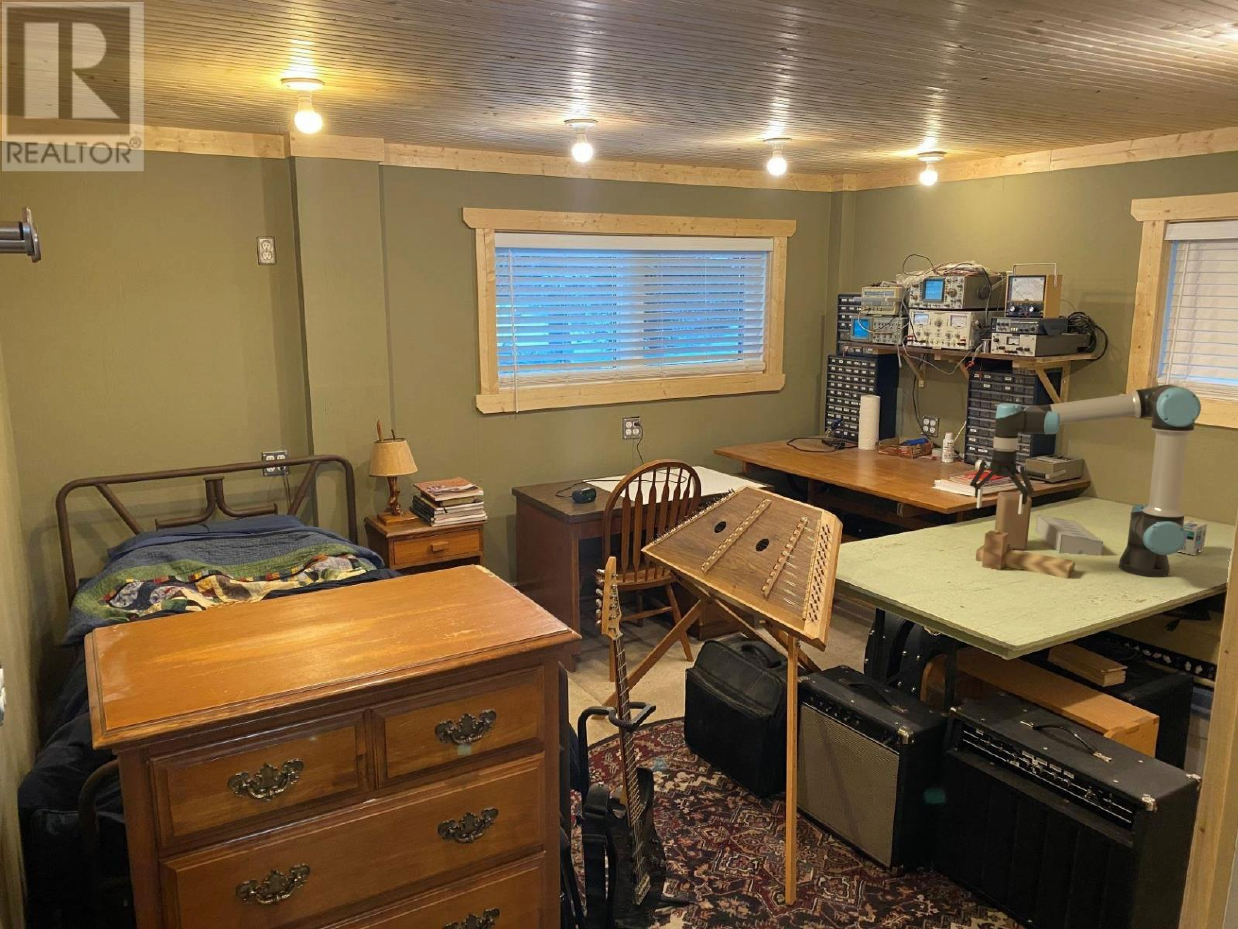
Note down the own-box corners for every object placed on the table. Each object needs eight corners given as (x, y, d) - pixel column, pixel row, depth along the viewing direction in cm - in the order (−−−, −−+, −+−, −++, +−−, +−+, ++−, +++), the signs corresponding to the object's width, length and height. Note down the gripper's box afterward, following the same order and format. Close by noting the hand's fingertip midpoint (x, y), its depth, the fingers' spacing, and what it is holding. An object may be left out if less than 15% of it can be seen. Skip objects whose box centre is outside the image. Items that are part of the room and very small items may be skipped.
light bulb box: (1193, 556, 320) (1197, 528, 318) (1173, 552, 325) (1177, 524, 323) (1203, 551, 327) (1208, 523, 325) (1183, 547, 332) (1187, 519, 330)
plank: (1074, 572, 299) (1075, 560, 298) (1067, 578, 292) (1069, 566, 292) (983, 555, 318) (984, 544, 317) (975, 560, 311) (976, 549, 310)
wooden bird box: (1012, 560, 311) (1016, 524, 309) (1000, 570, 300) (1003, 533, 297) (994, 557, 315) (998, 522, 313) (981, 567, 304) (985, 530, 301)
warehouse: (1101, 556, 319) (1103, 536, 318) (1059, 554, 322) (1061, 534, 320) (1074, 535, 348) (1076, 516, 347) (1035, 533, 351) (1037, 514, 349)
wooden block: (1027, 551, 324) (1032, 498, 320) (998, 549, 326) (1003, 496, 322) (1020, 543, 333) (1025, 492, 329) (992, 542, 335) (997, 491, 331)
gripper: (1047, 452, 291) (1041, 513, 295) (970, 443, 307) (965, 502, 311) (1041, 455, 286) (1035, 518, 290) (963, 446, 301) (958, 506, 305)
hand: (999, 510), depth 300 cm, fingers open, 13 cm apart
